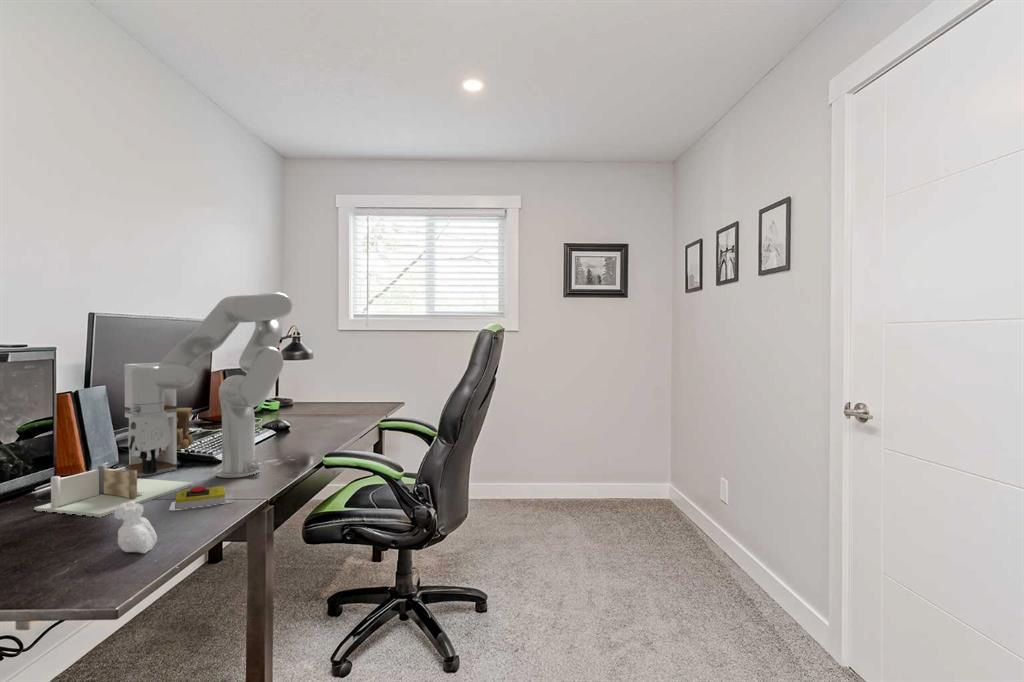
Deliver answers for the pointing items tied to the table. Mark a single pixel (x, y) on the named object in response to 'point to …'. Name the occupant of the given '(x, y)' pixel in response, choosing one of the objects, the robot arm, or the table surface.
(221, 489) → the emergency button
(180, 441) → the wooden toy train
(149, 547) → the white tied sack
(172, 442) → the white wooden-base stand
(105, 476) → the wooden panel
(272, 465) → the table surface
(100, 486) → the fixed fence section
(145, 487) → the board
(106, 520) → the table surface
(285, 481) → the table surface
